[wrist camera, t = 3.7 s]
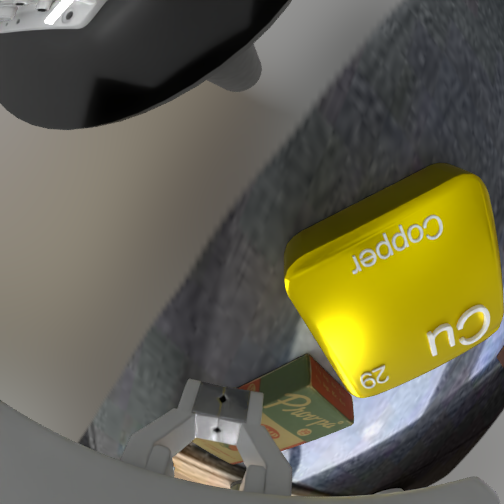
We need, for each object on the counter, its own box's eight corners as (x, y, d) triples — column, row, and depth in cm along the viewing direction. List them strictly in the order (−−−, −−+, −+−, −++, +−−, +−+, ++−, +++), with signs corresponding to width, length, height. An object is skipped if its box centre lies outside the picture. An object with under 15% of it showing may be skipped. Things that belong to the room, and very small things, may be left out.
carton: (188, 406, 31) (179, 435, 28) (309, 349, 26) (311, 385, 22) (236, 439, 34) (231, 466, 30) (352, 394, 28) (357, 426, 24)
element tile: (450, 152, 18) (486, 164, 14) (484, 302, 23) (507, 332, 18) (273, 243, 22) (270, 275, 18) (348, 371, 27) (355, 409, 23)
